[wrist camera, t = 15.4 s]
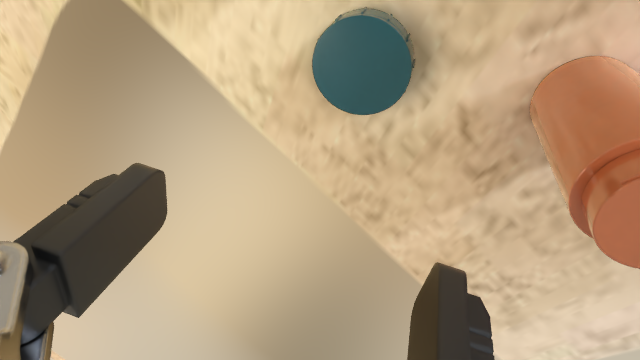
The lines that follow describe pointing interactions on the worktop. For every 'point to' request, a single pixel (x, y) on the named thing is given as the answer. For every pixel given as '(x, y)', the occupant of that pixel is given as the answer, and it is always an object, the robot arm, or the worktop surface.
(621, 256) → the jam jar
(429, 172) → the worktop surface
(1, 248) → the robot arm
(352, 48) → the jar lid
